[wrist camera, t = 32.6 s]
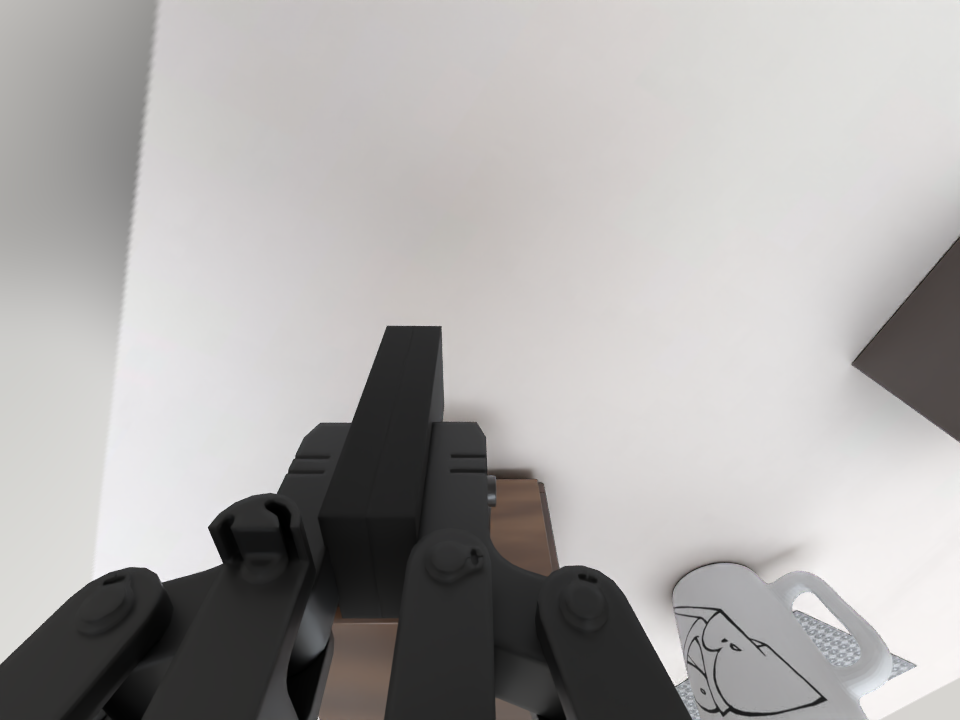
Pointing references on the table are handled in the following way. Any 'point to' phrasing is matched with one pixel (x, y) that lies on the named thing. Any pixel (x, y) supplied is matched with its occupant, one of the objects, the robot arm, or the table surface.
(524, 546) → the drawer
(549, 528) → the cabinet
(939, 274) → the stand
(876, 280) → the table surface
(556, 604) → the robot arm
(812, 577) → the mug
